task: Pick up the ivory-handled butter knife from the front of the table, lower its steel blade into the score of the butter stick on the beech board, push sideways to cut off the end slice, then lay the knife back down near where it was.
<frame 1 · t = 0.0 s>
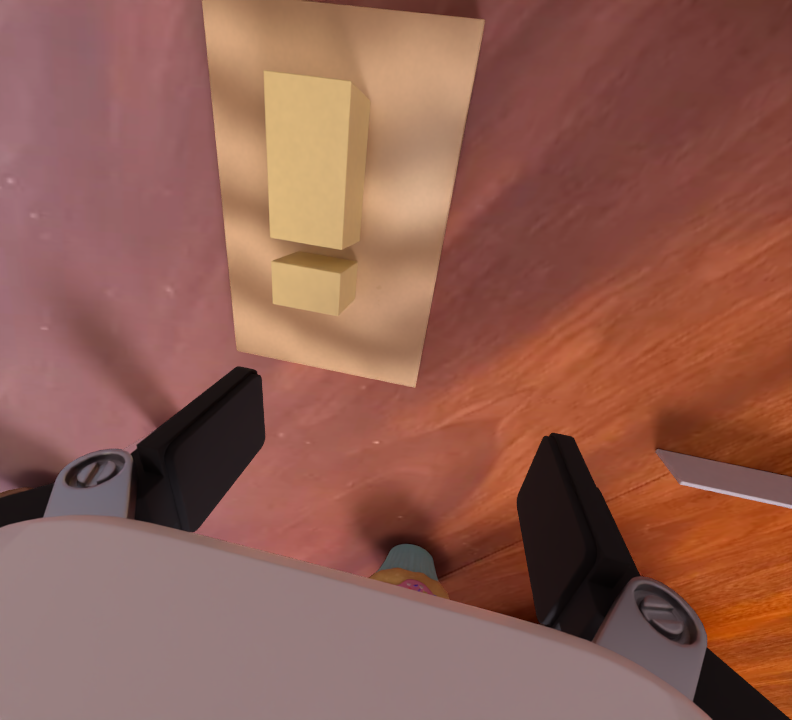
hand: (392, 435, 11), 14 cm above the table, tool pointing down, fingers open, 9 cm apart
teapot: (65, 499, 43), on the table
cupcake: (411, 557, 36), on the table
board: (336, 225, 22), on the table
butter slice: (327, 275, 22), point 1 cm above the table, touching board
butter: (330, 171, 19), point 1 cm above the table, touching board
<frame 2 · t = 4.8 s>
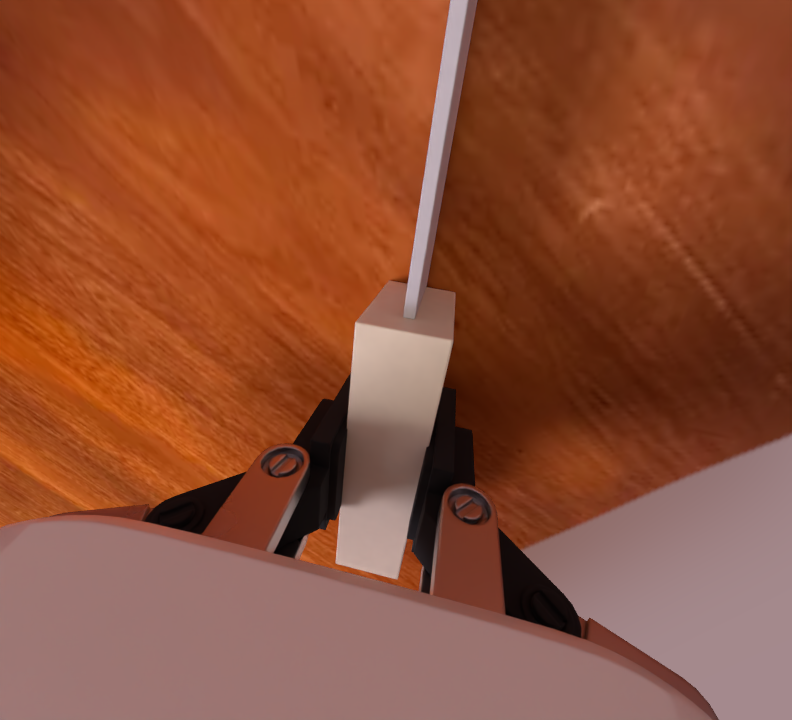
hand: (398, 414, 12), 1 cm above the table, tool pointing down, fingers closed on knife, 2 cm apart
knife: (402, 400, 13), on the table, touching gripper
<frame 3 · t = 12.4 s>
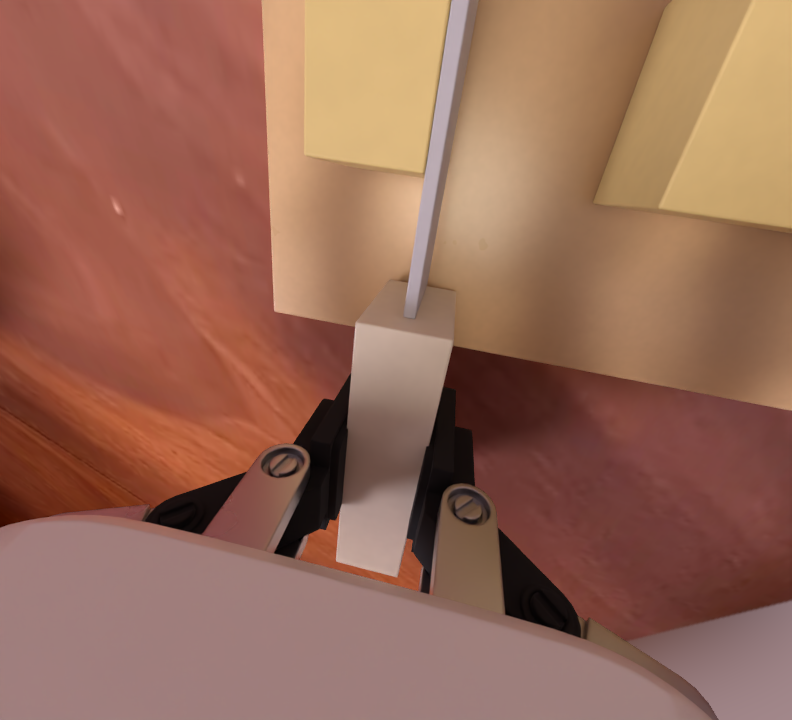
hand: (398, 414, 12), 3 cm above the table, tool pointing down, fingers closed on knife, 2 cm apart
board: (619, 128, 10), on the table
knife: (402, 399, 13), point 2 cm above the table, touching butter slice, gripper
butter slice: (403, 87, 9), point 2 cm above the table, touching board, knife
butter: (775, 134, 8), point 1 cm above the table, touching board
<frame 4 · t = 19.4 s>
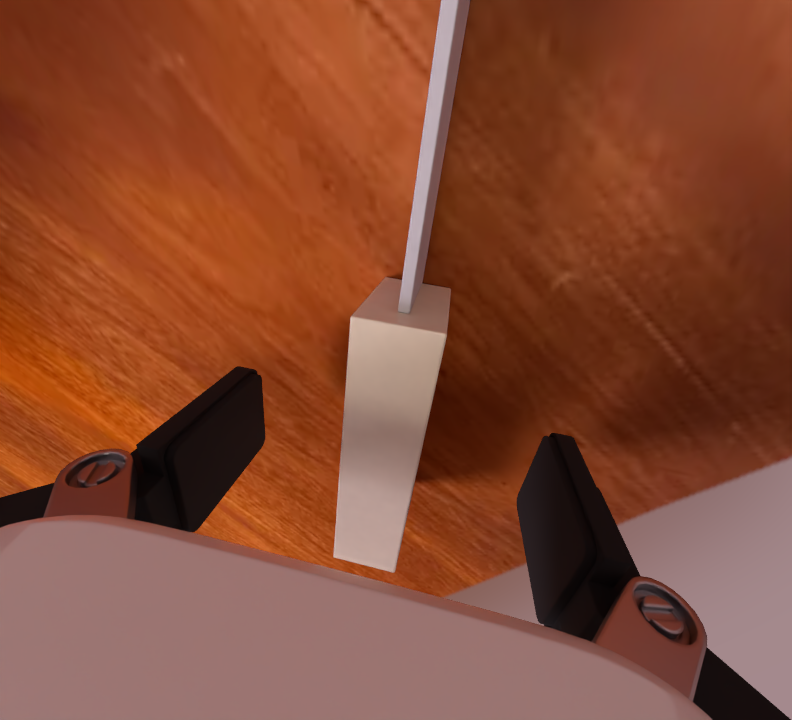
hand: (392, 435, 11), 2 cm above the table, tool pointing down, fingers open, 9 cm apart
knife: (399, 396, 13), on the table
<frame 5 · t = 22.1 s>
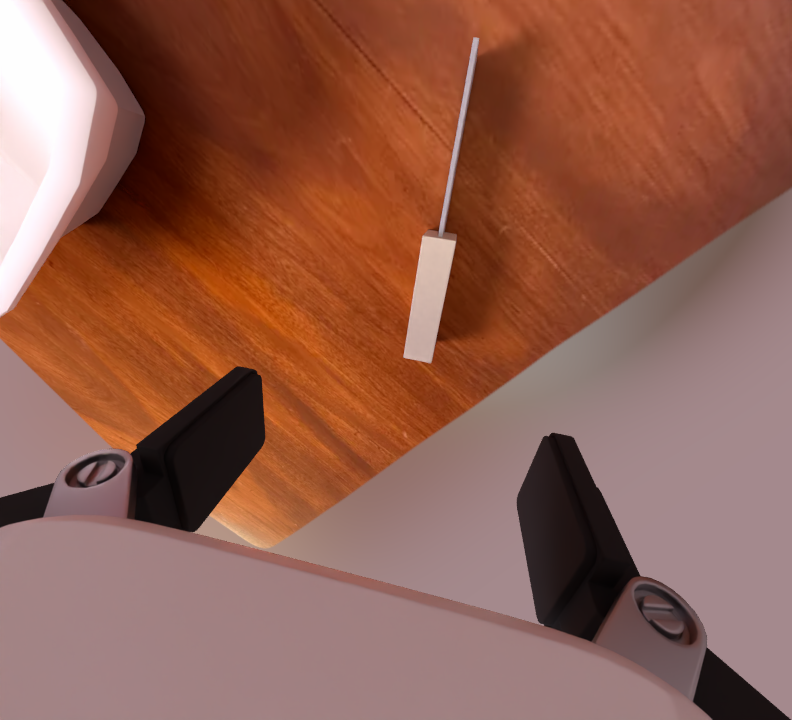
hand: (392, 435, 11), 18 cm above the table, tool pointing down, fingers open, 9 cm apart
bowl: (47, 105, 26), on the table
knife: (431, 290, 27), on the table
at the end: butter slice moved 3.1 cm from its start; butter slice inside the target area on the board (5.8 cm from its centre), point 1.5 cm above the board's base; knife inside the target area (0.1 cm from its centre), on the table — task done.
